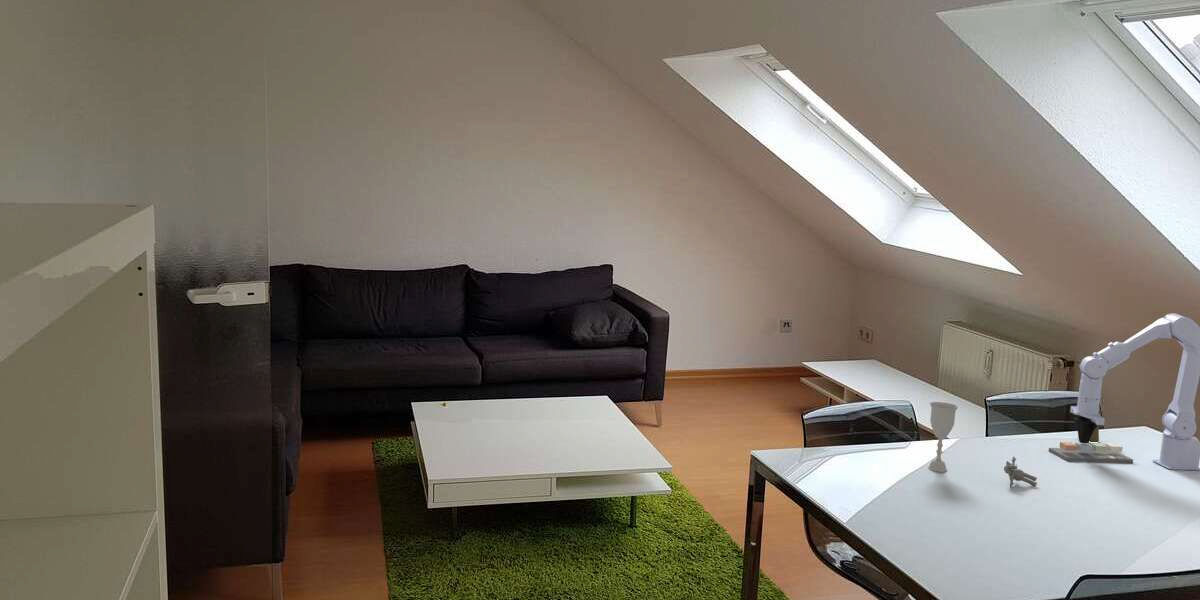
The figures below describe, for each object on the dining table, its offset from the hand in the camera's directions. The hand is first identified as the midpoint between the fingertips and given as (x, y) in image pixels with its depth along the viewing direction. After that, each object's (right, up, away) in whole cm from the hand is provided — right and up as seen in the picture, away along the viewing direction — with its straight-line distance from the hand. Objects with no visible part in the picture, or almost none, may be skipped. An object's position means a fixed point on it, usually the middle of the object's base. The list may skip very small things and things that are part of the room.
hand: (1083, 442), depth 285 cm
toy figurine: (-32, -7, -28) cm, 43 cm away
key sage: (+5, -2, +1) cm, 5 cm away
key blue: (0, -2, 0) cm, 2 cm away
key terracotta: (-5, -2, 0) cm, 5 cm away
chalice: (-50, -5, -19) cm, 53 cm away
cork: (+11, -2, +19) cm, 22 cm away
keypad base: (+2, -4, +1) cm, 5 cm away
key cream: (+9, -2, +1) cm, 10 cm away
